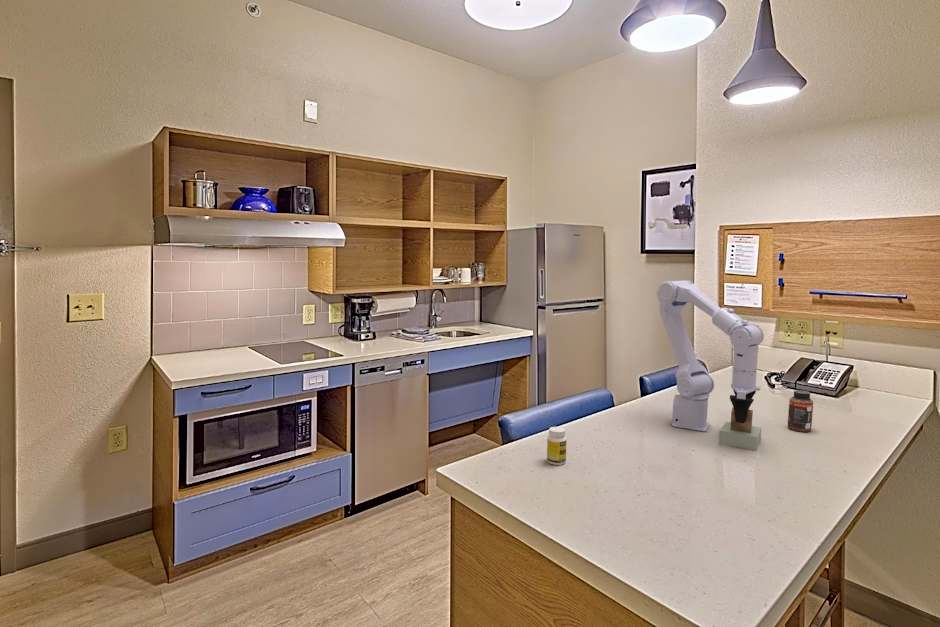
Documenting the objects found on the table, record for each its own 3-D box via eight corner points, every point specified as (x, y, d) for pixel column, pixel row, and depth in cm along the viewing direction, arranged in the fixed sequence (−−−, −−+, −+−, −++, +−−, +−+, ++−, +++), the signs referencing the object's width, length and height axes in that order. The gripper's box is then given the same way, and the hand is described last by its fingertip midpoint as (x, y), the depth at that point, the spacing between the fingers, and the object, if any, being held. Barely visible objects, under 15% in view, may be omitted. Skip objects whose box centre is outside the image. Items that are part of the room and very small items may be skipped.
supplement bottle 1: (561, 467, 129) (562, 433, 128) (543, 462, 132) (544, 430, 131) (568, 460, 133) (569, 428, 132) (551, 456, 136) (552, 424, 135)
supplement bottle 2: (814, 433, 152) (818, 394, 150) (791, 431, 153) (794, 393, 151) (806, 426, 157) (809, 389, 156) (784, 425, 159) (786, 388, 157)
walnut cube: (730, 430, 144) (731, 412, 143) (731, 424, 148) (732, 407, 148) (751, 433, 142) (752, 415, 141) (751, 427, 146) (752, 410, 145)
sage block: (718, 444, 144) (719, 430, 144) (724, 434, 152) (725, 421, 151) (755, 451, 139) (756, 437, 139) (760, 441, 146) (761, 427, 146)
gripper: (760, 377, 135) (756, 428, 136) (762, 366, 147) (759, 413, 149) (729, 373, 138) (726, 424, 140) (734, 363, 150) (731, 409, 152)
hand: (741, 418), depth 144 cm, fingers open, 7 cm apart
